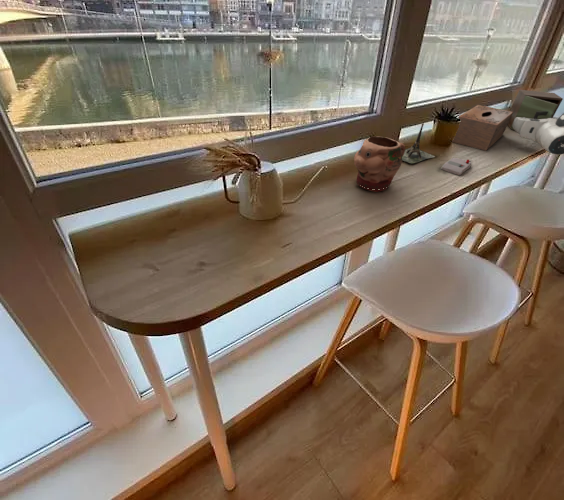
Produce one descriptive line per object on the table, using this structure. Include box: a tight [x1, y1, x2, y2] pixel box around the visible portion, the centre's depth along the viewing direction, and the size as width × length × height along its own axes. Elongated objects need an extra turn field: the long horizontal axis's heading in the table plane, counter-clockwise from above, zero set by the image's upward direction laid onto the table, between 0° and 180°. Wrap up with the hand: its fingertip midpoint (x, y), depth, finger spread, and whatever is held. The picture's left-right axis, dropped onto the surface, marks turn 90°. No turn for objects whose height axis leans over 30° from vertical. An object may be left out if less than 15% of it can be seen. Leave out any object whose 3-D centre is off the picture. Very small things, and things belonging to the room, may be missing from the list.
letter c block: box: [509, 96, 558, 131], centre depth 142 cm, size 6×15×14 cm, turn 19°
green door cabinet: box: [507, 89, 564, 129], centre depth 151 cm, size 11×15×15 cm
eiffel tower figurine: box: [402, 122, 436, 164], centre depth 118 cm, size 15×10×13 cm
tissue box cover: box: [451, 104, 513, 152], centre depth 137 cm, size 26×14×10 cm, turn 138°
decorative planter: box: [353, 135, 406, 193], centre depth 99 cm, size 20×12×14 cm, turn 128°
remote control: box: [440, 157, 473, 176], centre depth 114 cm, size 7×16×3 cm, turn 136°
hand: (536, 120), depth 134 cm, fingers open, 8 cm apart
